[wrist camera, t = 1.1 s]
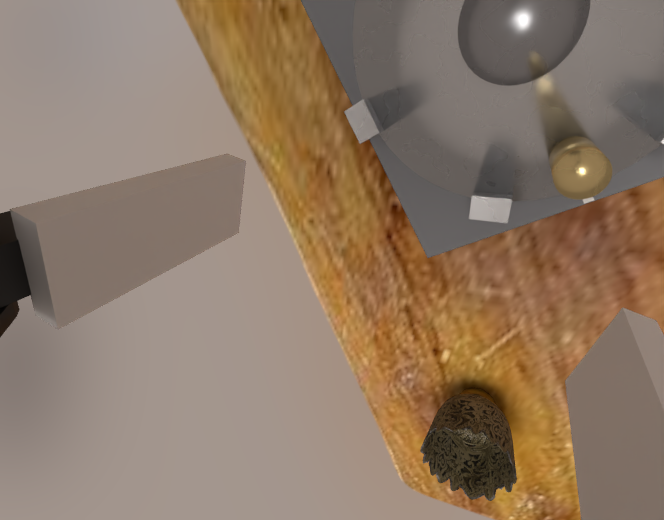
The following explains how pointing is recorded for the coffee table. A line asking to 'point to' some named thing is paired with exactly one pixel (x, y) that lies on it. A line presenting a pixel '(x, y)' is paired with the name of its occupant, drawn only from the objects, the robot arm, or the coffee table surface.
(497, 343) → the coffee table surface
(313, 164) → the coffee table surface
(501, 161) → the grey metal round disc
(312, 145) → the coffee table surface
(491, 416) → the cup
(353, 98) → the plate
